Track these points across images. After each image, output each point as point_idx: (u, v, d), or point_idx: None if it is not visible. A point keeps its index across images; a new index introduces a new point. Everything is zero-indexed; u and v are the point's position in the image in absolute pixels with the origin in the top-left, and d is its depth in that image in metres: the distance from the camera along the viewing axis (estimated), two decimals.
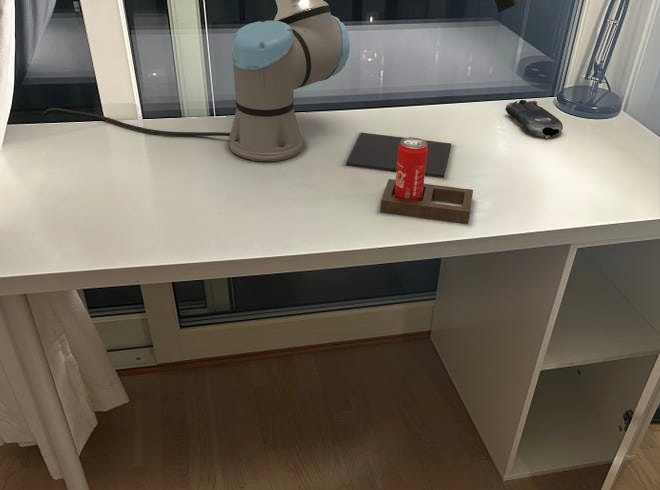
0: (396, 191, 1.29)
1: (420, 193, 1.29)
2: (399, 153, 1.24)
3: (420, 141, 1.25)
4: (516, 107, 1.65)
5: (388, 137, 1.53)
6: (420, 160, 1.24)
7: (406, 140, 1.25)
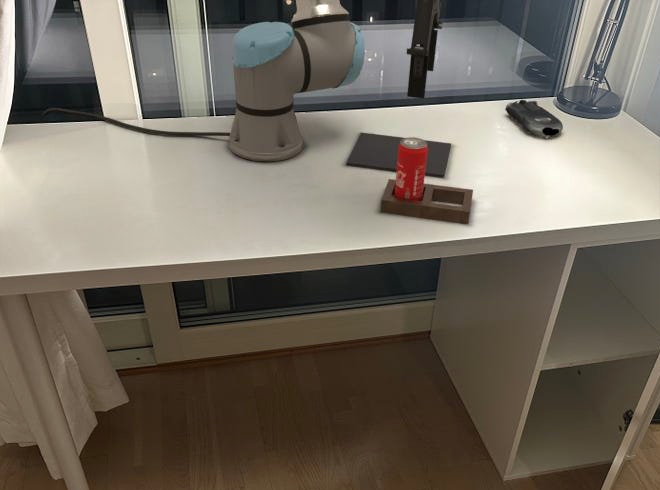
0: (396, 191, 1.29)
1: (420, 193, 1.29)
2: (399, 153, 1.24)
3: (420, 141, 1.25)
4: (516, 107, 1.65)
5: (388, 137, 1.53)
6: (420, 160, 1.24)
7: (406, 140, 1.25)
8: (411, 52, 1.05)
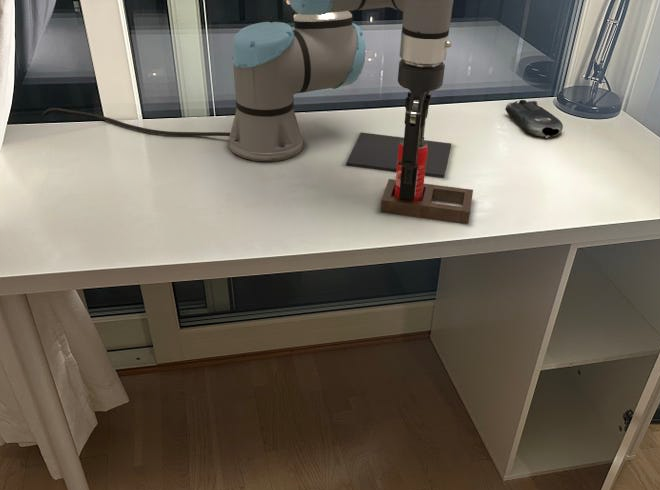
0: (396, 191, 1.29)
1: (420, 193, 1.29)
2: (399, 153, 1.24)
3: (420, 141, 1.25)
4: (516, 107, 1.65)
5: (388, 137, 1.53)
6: (420, 160, 1.24)
7: None
8: (402, 166, 1.21)
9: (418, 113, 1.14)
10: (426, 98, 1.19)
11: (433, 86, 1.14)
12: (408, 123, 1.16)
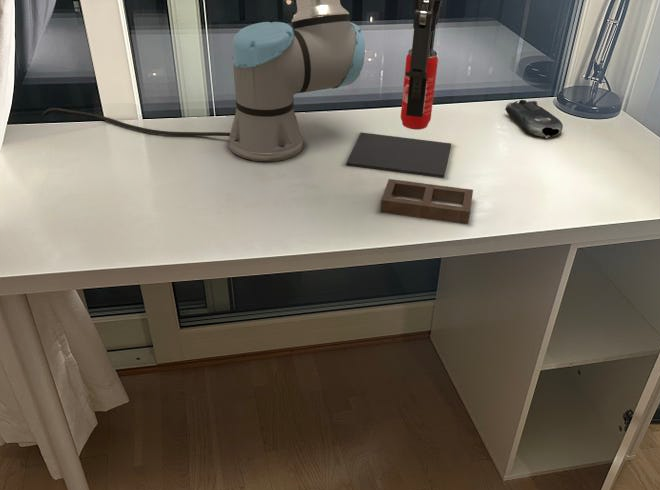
0: (403, 108, 1.19)
1: (429, 110, 1.19)
2: (407, 64, 1.15)
3: (430, 51, 1.15)
4: (516, 107, 1.65)
5: (388, 137, 1.53)
6: (429, 71, 1.14)
7: None
8: (410, 75, 1.11)
9: (429, 12, 1.04)
10: (437, 0, 1.10)
11: None
12: (417, 24, 1.06)
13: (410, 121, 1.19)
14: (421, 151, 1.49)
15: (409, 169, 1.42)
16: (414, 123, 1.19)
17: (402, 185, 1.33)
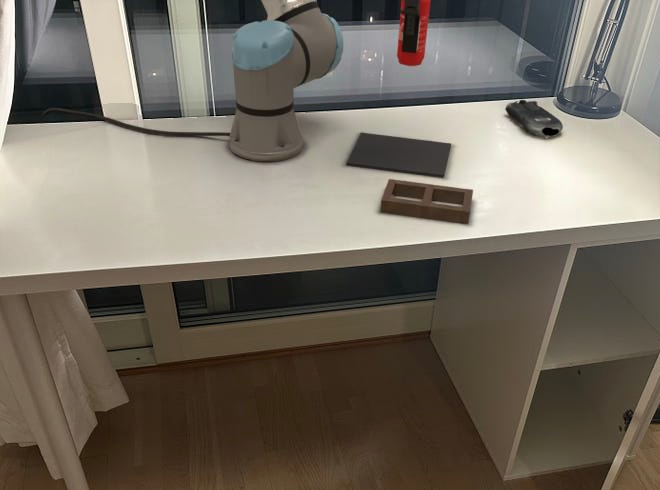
0: (399, 46, 1.31)
1: (423, 48, 1.31)
2: (402, 4, 1.27)
3: None
4: (516, 107, 1.65)
5: (388, 137, 1.53)
6: (422, 10, 1.26)
7: None
8: (404, 12, 1.23)
9: None
10: None
11: None
12: None
13: (405, 58, 1.31)
14: (421, 151, 1.49)
15: (409, 169, 1.42)
16: (409, 60, 1.31)
17: (402, 185, 1.33)
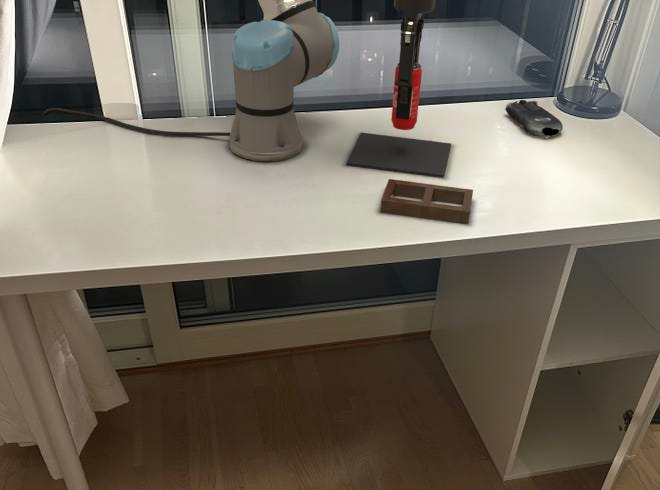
0: (393, 112, 1.41)
1: (415, 114, 1.41)
2: (396, 75, 1.37)
3: (415, 64, 1.37)
4: (516, 107, 1.65)
5: (388, 137, 1.53)
6: (414, 81, 1.36)
7: None
8: (398, 85, 1.33)
9: (412, 33, 1.26)
10: (420, 22, 1.32)
11: (426, 9, 1.27)
12: (403, 43, 1.28)
13: (399, 123, 1.41)
14: (421, 151, 1.49)
15: (409, 169, 1.42)
16: (403, 125, 1.41)
17: (402, 185, 1.33)
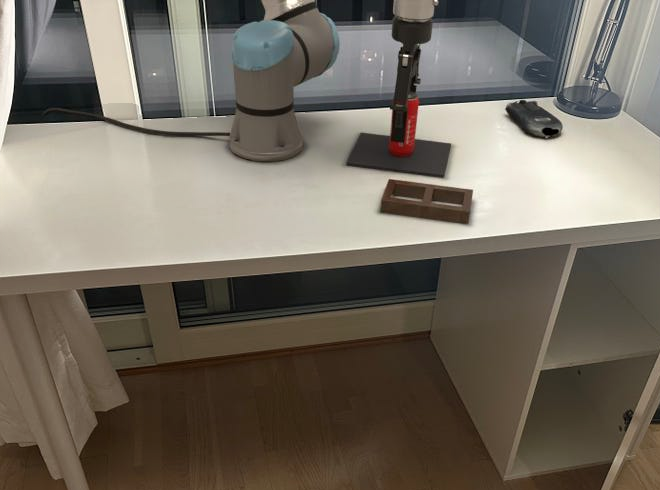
0: None
1: (412, 142, 1.44)
2: None
3: (412, 94, 1.41)
4: (516, 107, 1.65)
5: (388, 137, 1.53)
6: (412, 110, 1.40)
7: None
8: (393, 108, 1.32)
9: (410, 55, 1.29)
10: None
11: (422, 40, 1.30)
12: (401, 65, 1.30)
13: (397, 150, 1.45)
14: (421, 151, 1.49)
15: (409, 169, 1.42)
16: (400, 152, 1.45)
17: (402, 185, 1.33)
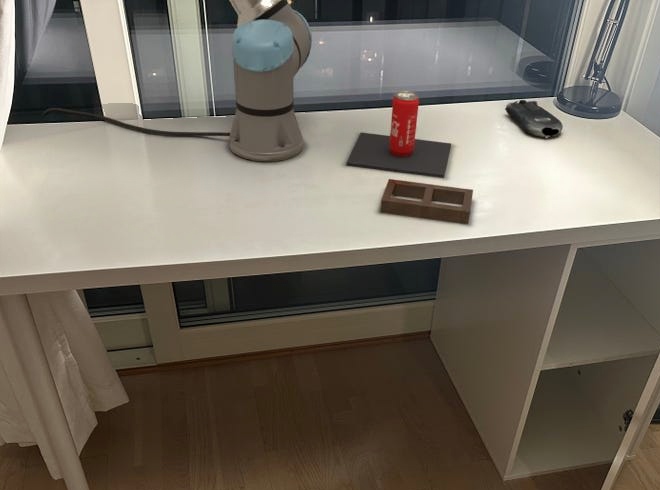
0: (391, 140, 1.45)
1: (412, 142, 1.44)
2: (393, 105, 1.40)
3: (412, 94, 1.41)
4: (516, 107, 1.65)
5: (388, 137, 1.53)
6: (412, 110, 1.40)
7: (400, 93, 1.41)
8: None
9: None
10: None
11: None
12: None
13: (397, 150, 1.45)
14: (421, 151, 1.49)
15: (409, 169, 1.42)
16: (400, 152, 1.45)
17: (402, 185, 1.33)
